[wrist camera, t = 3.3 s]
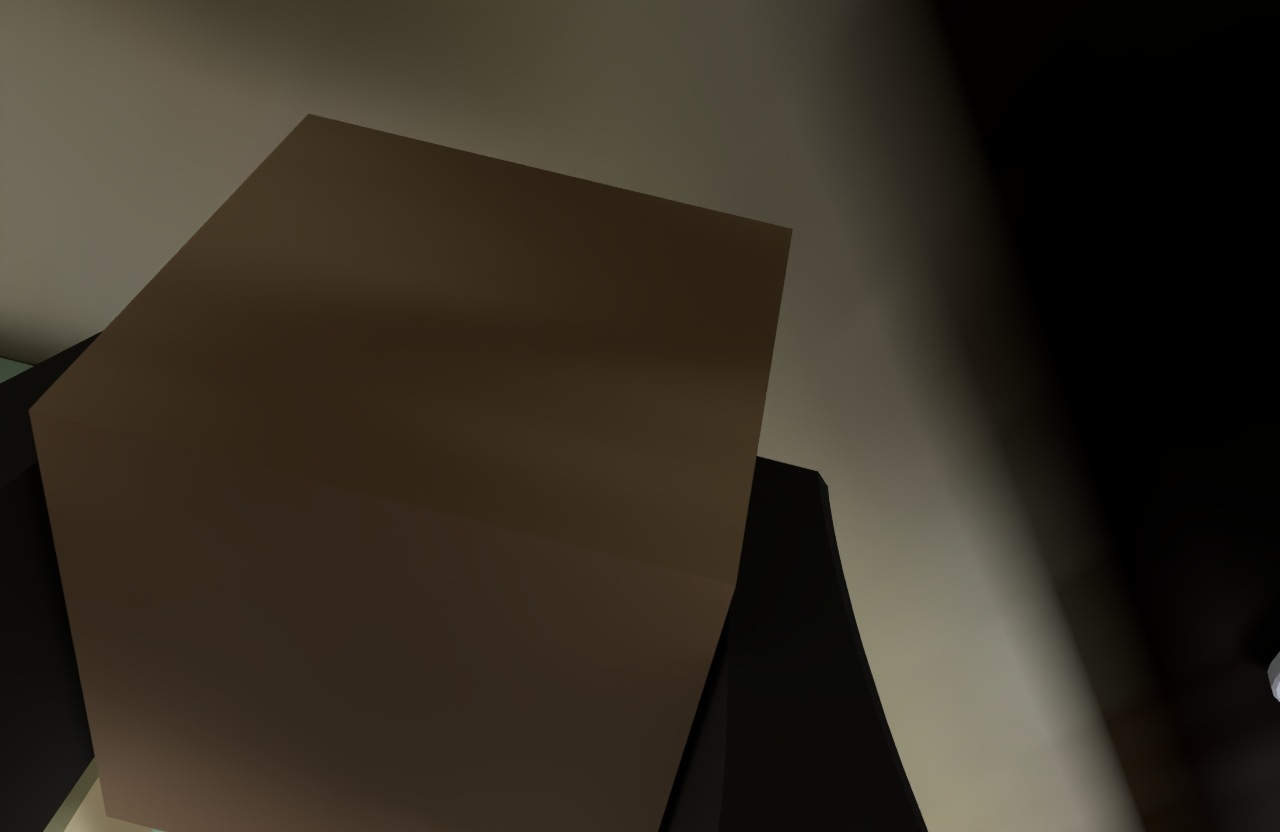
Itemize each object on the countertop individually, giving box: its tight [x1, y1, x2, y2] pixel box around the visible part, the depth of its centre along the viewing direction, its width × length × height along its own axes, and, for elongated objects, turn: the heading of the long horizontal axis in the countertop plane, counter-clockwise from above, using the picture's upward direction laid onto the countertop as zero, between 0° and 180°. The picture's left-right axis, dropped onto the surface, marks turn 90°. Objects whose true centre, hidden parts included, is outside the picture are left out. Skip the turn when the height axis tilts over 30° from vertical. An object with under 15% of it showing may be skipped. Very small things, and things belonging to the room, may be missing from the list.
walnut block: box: [29, 114, 792, 832], centre depth 9 cm, size 4×4×4 cm
